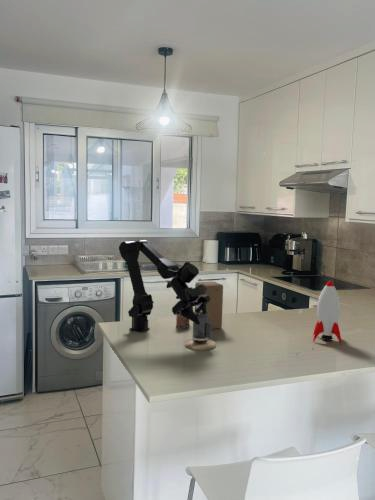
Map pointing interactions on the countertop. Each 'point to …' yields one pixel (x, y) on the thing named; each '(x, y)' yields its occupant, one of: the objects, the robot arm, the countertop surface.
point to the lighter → (181, 321)
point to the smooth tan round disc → (200, 345)
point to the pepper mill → (201, 328)
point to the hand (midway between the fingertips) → (203, 322)
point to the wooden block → (213, 303)
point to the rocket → (328, 313)
